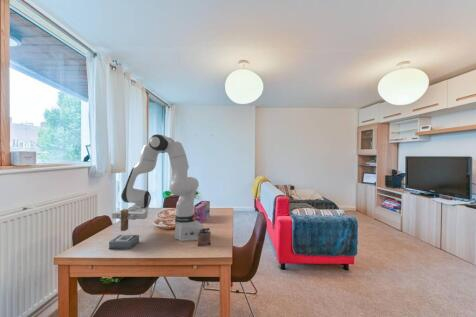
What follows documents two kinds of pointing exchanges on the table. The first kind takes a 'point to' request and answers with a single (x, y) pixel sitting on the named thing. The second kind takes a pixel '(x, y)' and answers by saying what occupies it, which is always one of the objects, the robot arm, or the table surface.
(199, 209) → the gum box
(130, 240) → the grey flat square block
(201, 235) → the lighter
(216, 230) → the table surface
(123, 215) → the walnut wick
